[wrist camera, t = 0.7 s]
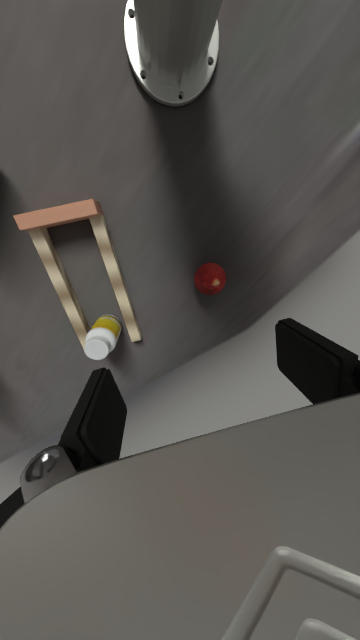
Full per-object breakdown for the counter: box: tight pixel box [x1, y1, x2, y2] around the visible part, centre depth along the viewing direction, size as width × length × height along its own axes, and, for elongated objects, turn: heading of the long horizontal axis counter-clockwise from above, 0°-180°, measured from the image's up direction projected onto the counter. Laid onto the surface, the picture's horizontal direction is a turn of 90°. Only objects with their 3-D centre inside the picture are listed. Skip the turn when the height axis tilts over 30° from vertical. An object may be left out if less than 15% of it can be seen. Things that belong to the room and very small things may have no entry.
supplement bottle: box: [84, 315, 122, 360], centre depth 38 cm, size 5×5×10 cm
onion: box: [194, 263, 226, 295], centre depth 37 cm, size 6×6×8 cm
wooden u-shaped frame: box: [13, 199, 142, 349], centre depth 37 cm, size 26×12×4 cm, turn 11°
